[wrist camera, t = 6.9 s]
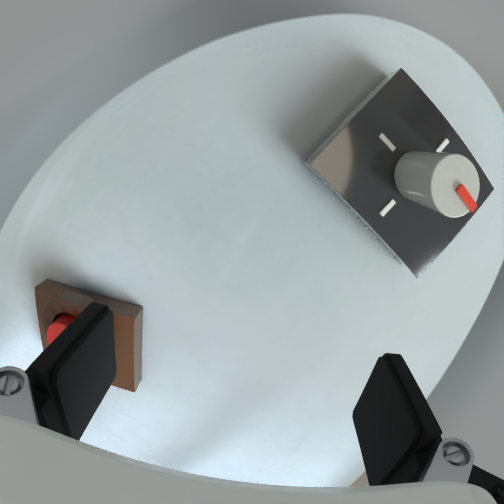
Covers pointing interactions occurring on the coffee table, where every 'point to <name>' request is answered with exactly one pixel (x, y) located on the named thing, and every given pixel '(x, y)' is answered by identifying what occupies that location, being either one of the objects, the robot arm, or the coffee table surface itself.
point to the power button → (59, 326)
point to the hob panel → (393, 168)
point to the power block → (125, 325)
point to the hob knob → (438, 181)
